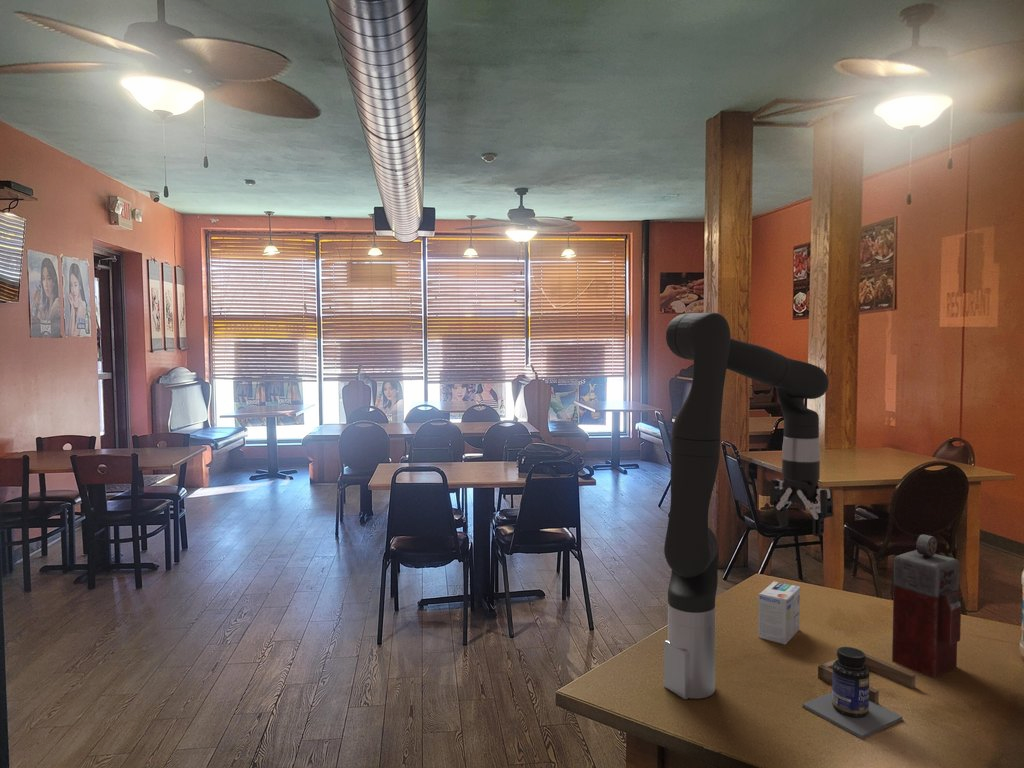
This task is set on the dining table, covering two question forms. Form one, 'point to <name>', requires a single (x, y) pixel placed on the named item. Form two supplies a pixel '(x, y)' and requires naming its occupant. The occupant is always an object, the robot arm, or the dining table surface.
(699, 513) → the robot arm
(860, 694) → the pill bottle
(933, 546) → the red rectangular canister
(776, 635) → the light bulb box
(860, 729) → the rubber mat
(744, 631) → the dining table surface
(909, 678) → the frame
